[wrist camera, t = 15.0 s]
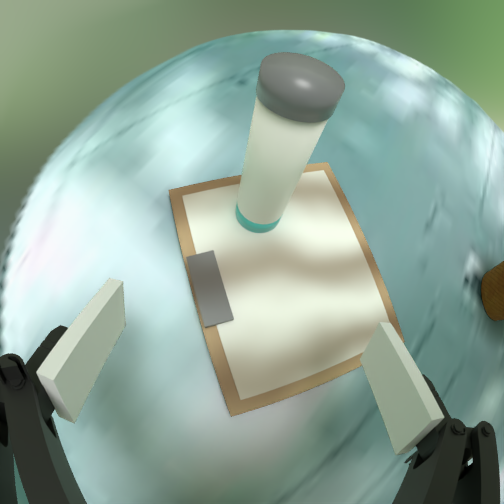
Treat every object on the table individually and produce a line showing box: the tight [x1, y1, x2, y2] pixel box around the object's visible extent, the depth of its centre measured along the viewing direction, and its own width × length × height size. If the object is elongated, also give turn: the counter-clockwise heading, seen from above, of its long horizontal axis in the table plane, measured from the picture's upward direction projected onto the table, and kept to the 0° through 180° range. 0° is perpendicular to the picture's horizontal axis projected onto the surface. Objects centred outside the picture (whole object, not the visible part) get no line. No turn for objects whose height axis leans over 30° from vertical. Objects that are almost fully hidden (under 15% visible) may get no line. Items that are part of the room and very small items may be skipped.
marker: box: [235, 52, 345, 233], centre depth 16 cm, size 4×4×13 cm
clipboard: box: [169, 162, 405, 417], centre depth 21 cm, size 18×15×2 cm
